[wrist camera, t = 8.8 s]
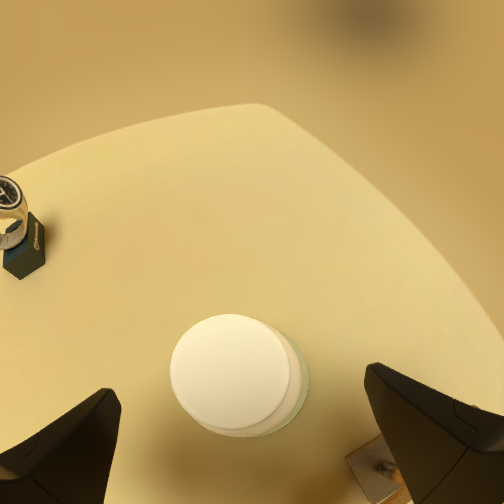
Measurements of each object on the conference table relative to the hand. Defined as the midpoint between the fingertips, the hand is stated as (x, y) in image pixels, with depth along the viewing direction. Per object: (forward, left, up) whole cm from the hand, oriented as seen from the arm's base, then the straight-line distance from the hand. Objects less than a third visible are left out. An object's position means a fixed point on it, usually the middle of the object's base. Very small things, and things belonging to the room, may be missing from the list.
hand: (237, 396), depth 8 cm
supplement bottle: (+1, 0, -9) cm, 10 cm away
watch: (+21, +18, -10) cm, 29 cm away
